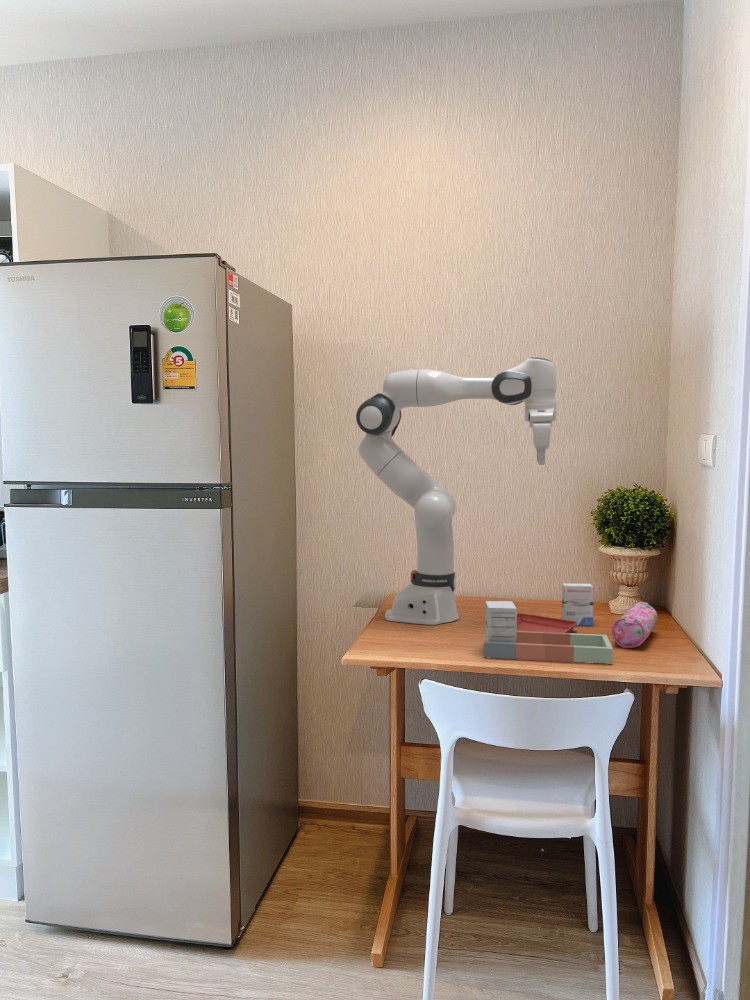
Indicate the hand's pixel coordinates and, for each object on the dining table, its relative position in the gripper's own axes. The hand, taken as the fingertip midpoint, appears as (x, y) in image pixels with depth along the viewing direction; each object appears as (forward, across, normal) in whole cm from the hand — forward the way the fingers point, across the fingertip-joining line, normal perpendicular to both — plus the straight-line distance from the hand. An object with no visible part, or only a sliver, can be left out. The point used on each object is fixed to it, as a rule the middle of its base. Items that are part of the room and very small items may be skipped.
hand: (540, 463), depth 215 cm
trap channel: (+47, +29, -1) cm, 55 cm away
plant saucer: (+48, +10, -2) cm, 49 cm away
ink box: (+48, -3, +10) cm, 49 cm away
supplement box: (+47, +29, -12) cm, 56 cm away
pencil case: (+48, +11, +24) cm, 55 cm away
